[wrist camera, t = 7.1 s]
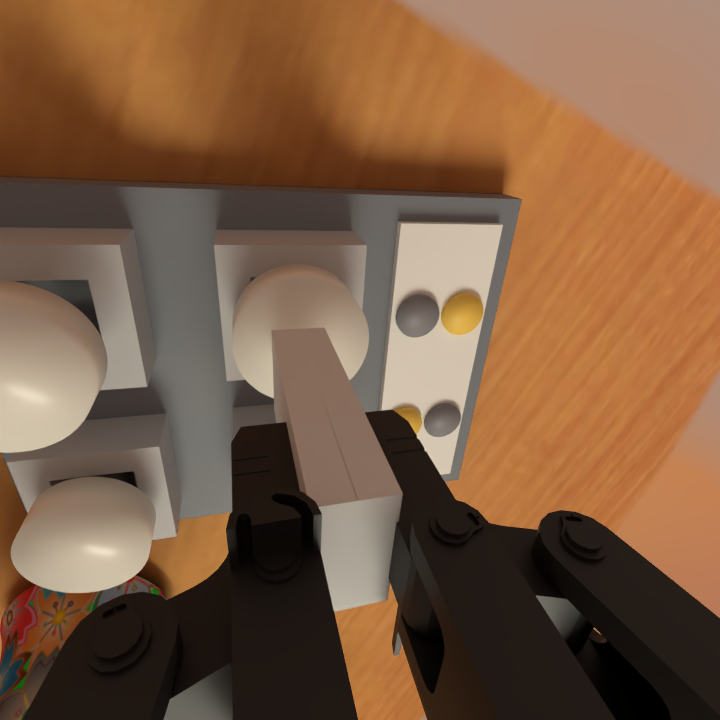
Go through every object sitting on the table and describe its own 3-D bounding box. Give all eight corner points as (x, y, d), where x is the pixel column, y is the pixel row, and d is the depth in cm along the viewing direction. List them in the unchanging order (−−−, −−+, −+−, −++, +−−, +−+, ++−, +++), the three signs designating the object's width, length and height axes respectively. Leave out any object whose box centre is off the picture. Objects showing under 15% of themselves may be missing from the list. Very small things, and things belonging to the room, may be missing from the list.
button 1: (65, 521, 20) (31, 602, 16) (37, 444, 18) (-8, 520, 14) (169, 507, 21) (158, 580, 17) (155, 432, 19) (138, 500, 15)
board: (48, 515, 22) (17, 583, 19) (-83, 173, 14) (-173, 190, 11) (447, 462, 28) (476, 508, 24) (503, 194, 20) (555, 208, 17)
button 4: (236, 353, 18) (237, 407, 15) (227, 245, 16) (226, 280, 12) (341, 347, 19) (364, 396, 16) (346, 246, 17) (374, 277, 14)
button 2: (-8, 384, 15) (-76, 461, 12) (-58, 256, 13) (-159, 305, 9) (134, 375, 16) (108, 443, 13) (109, 255, 14) (70, 299, 11)
